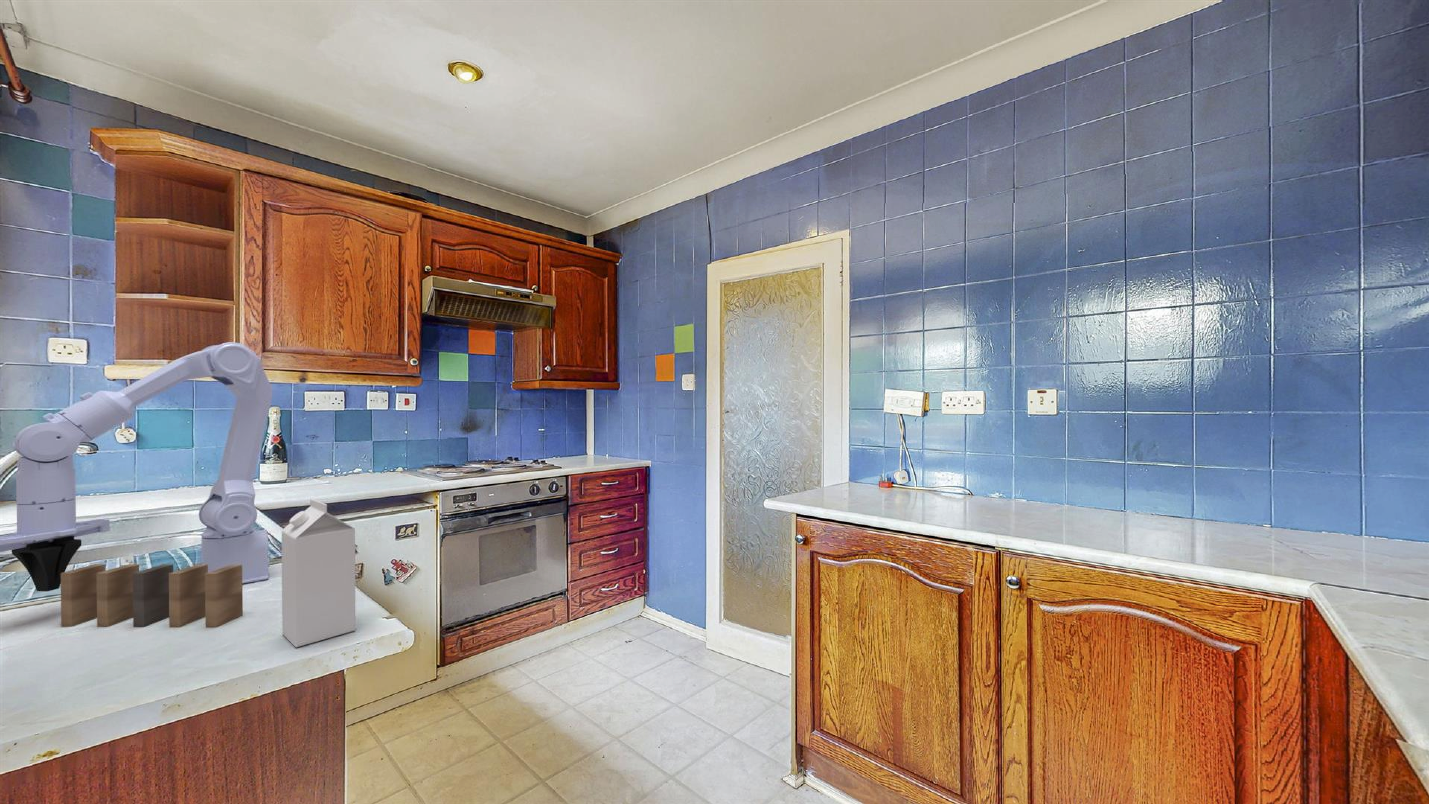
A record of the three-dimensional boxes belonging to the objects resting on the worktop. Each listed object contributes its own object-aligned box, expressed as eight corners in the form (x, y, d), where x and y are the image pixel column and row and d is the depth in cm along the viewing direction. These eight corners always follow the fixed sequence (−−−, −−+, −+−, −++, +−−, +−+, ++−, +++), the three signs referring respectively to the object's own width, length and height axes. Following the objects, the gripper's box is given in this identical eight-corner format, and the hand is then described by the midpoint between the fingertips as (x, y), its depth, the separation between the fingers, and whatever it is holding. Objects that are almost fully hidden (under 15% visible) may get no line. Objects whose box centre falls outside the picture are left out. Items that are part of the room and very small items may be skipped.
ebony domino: (163, 615, 85) (163, 564, 85) (173, 615, 85) (173, 564, 85) (133, 627, 80) (132, 573, 80) (143, 627, 80) (143, 573, 80)
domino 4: (232, 615, 85) (232, 564, 85) (242, 615, 85) (242, 564, 85) (205, 627, 80) (205, 573, 80) (216, 627, 80) (215, 573, 80)
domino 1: (95, 614, 85) (95, 564, 85) (105, 615, 85) (104, 564, 85) (61, 626, 81) (60, 573, 81) (71, 626, 81) (71, 573, 81)
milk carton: (339, 619, 83) (338, 495, 83) (356, 631, 79) (355, 500, 79) (281, 634, 78) (280, 502, 78) (295, 649, 73) (294, 508, 73)
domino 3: (198, 615, 85) (197, 564, 85) (208, 615, 85) (207, 564, 85) (169, 627, 80) (168, 573, 80) (179, 627, 80) (179, 573, 80)
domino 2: (129, 615, 85) (129, 564, 85) (139, 615, 85) (139, 564, 85) (97, 626, 81) (96, 573, 81) (107, 626, 81) (107, 573, 81)
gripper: (4, 511, 75) (5, 608, 75) (125, 493, 90) (126, 574, 90) (-41, 510, 76) (-40, 607, 76) (87, 492, 90) (88, 573, 91)
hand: (48, 589), depth 83 cm, fingers closed
